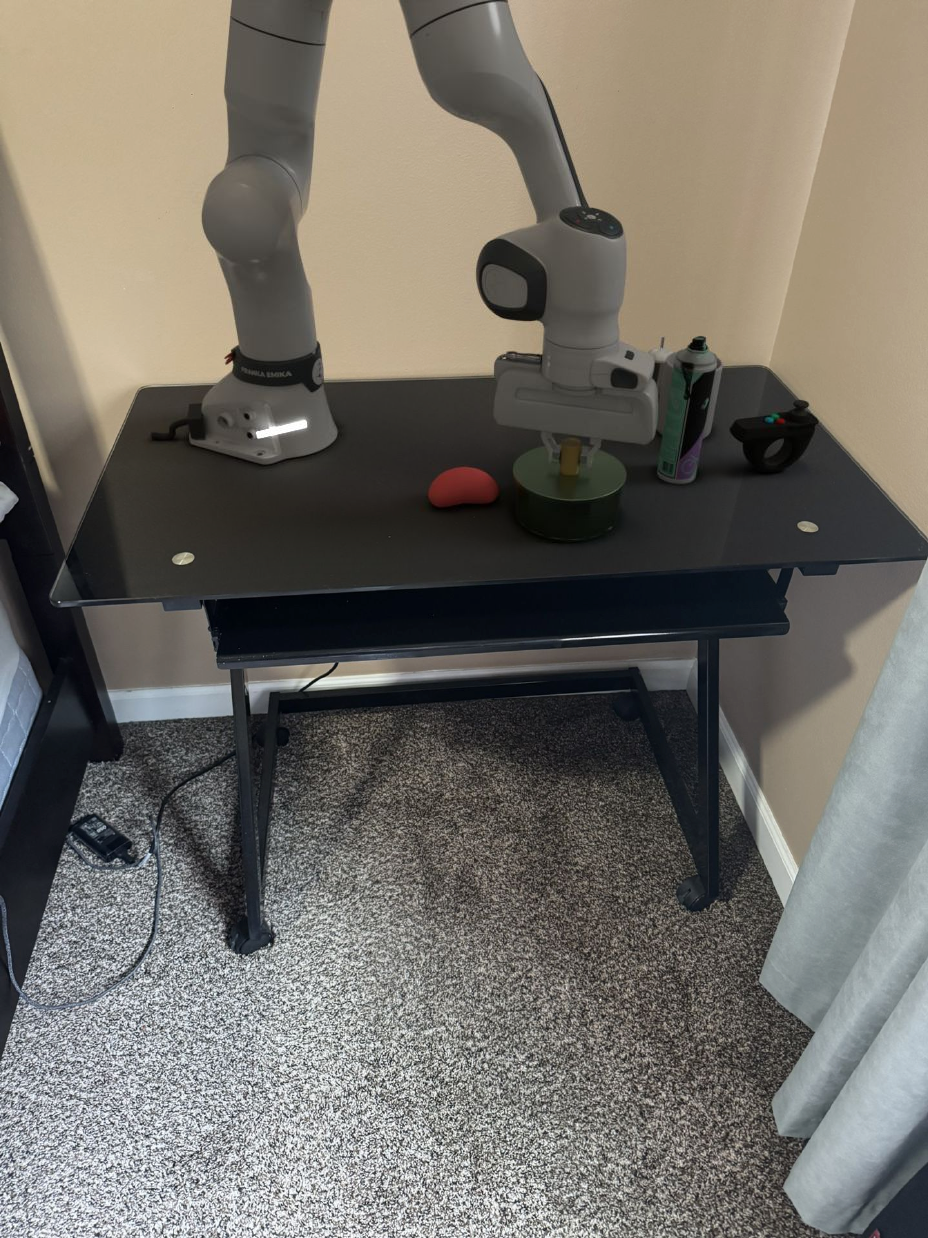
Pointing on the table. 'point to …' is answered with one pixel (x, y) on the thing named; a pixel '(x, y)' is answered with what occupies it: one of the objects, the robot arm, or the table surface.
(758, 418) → the controller
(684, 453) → the spray can
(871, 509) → the table surface
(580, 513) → the tin
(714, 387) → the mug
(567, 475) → the tin lid
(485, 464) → the table surface
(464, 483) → the red bean shape
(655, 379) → the milkshake
